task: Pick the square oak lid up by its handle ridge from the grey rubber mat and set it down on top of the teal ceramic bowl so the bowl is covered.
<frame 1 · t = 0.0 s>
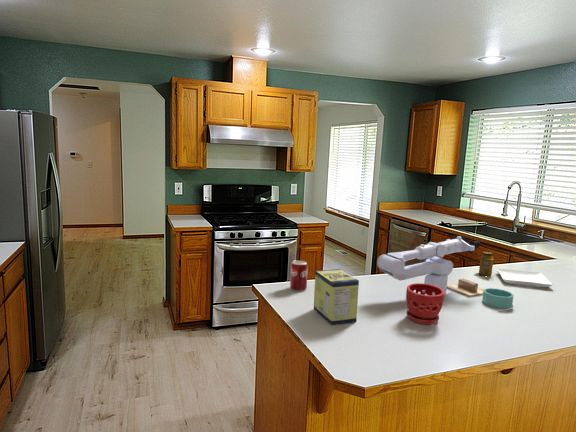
hand: (472, 242, 188), 22 cm above the counter, tool horizontal, fingers open, 7 cm apart
plant pot: (422, 320, 152), on the counter
soda can: (298, 289, 181), on the counter
oak lid: (467, 290, 186), resting on grey mat
salad plate: (521, 282, 205), on the counter
protein box: (334, 316, 153), on the counter
teal bowl: (497, 304, 171), on the counter
condiment: (484, 275, 213), on the counter
grey mat: (467, 291, 186), on the counter
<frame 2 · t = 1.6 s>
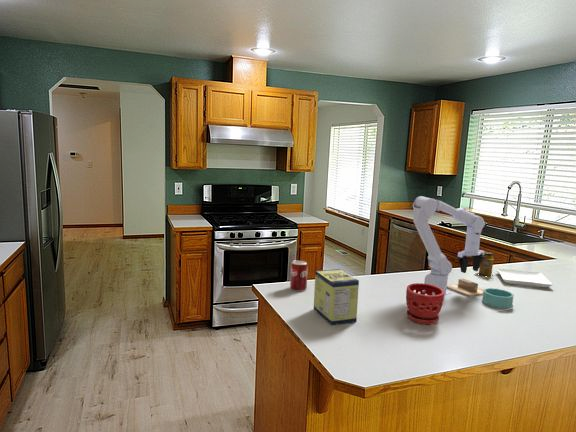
hand: (469, 271, 184), 9 cm above the counter, tool pointing down, fingers open, 7 cm apart
nothing on the counter moved.
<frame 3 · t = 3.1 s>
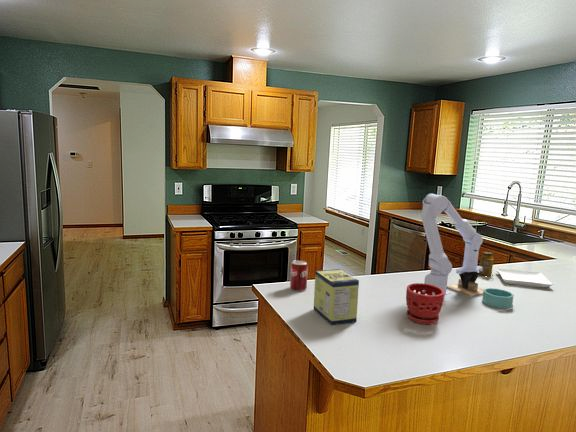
hand: (467, 287, 185), 2 cm above the counter, tool pointing down, fingers closed on oak lid, 3 cm apart
oak lid: (467, 290, 186), resting on grey mat, touching gripper
everything else where it was.
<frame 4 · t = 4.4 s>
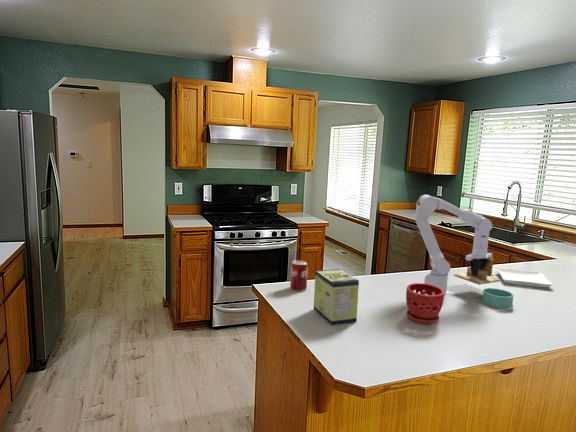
hand: (477, 275, 180), 9 cm above the counter, tool pointing down, fingers closed on oak lid, 3 cm apart
oak lid: (476, 278, 181), point 7 cm above the counter, touching gripper
everything else where it was.
when the fingers open (7 cm above the counter, at t = 5.8 s): oak lid stays where it is, resting on teal bowl.
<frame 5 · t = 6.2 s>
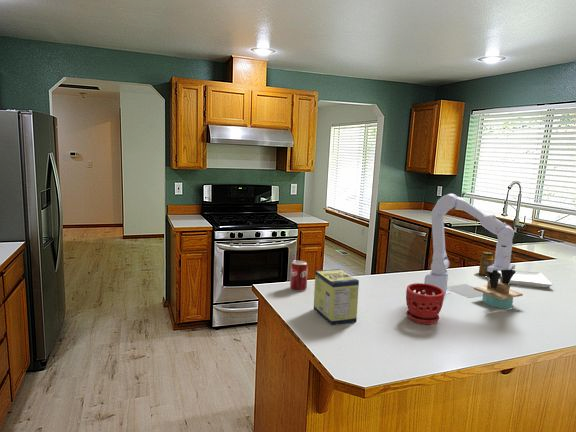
hand: (499, 287, 170), 7 cm above the counter, tool pointing down, fingers open, 6 cm apart
oak lid: (497, 292, 171), point 5 cm above the counter, touching teal bowl
everything else where it was.
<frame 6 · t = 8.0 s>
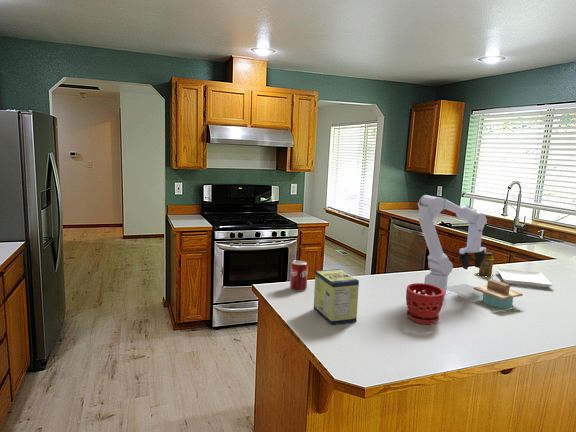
hand: (471, 268, 187), 10 cm above the counter, tool pointing down, fingers open, 7 cm apart
nothing on the counter moved.
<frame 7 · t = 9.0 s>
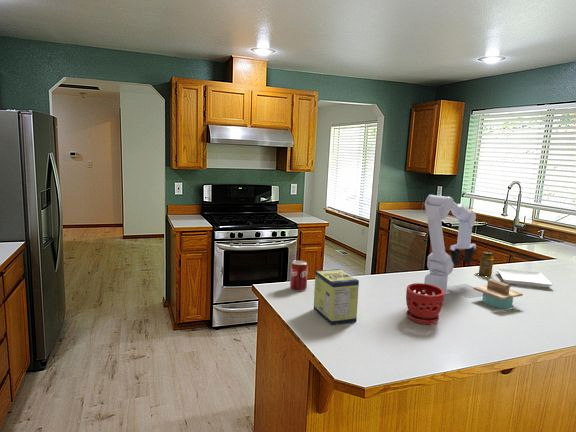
hand: (461, 264, 193), 10 cm above the counter, tool pointing down, fingers open, 7 cm apart
nothing on the counter moved.
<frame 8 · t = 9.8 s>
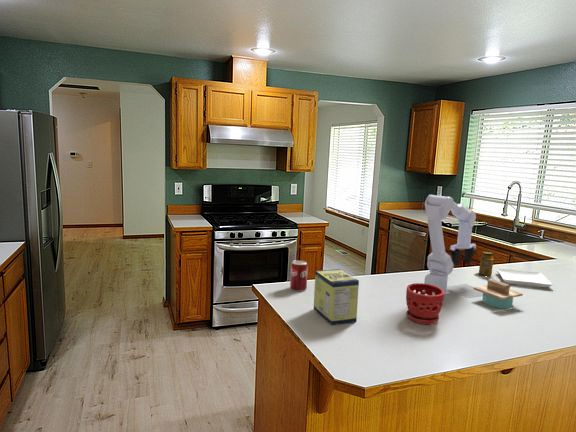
hand: (461, 264, 193), 10 cm above the counter, tool pointing down, fingers open, 7 cm apart
nothing on the counter moved.
at the end: oak lid 0.4 cm off-centre on the teal bowl, point 5.0 cm above the teal bowl's base; oak lid touching teal bowl; the gripper is holding nothing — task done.
